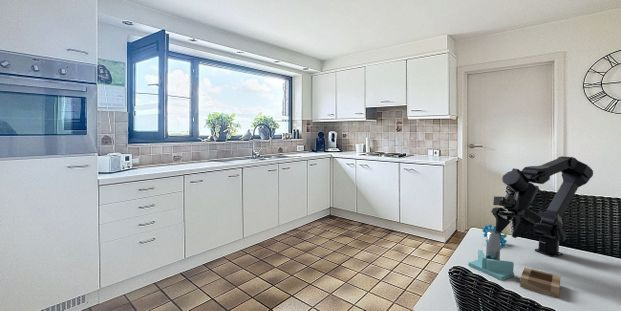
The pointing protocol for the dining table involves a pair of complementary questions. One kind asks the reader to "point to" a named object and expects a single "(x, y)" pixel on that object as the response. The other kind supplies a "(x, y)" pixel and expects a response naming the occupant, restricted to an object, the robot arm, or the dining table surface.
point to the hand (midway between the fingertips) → (504, 235)
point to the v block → (493, 266)
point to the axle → (493, 245)
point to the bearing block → (540, 282)
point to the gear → (494, 230)
